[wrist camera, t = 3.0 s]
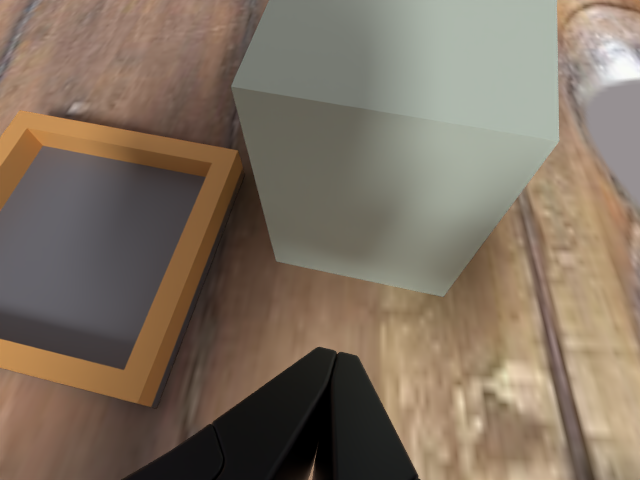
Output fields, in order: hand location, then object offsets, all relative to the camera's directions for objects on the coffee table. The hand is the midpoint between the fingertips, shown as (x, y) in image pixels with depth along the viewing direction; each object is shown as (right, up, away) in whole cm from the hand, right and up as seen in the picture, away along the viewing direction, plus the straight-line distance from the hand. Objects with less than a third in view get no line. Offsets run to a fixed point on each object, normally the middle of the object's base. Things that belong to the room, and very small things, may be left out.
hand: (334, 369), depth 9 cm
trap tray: (-12, +2, +12) cm, 17 cm away
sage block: (+2, +4, +13) cm, 14 cm away
